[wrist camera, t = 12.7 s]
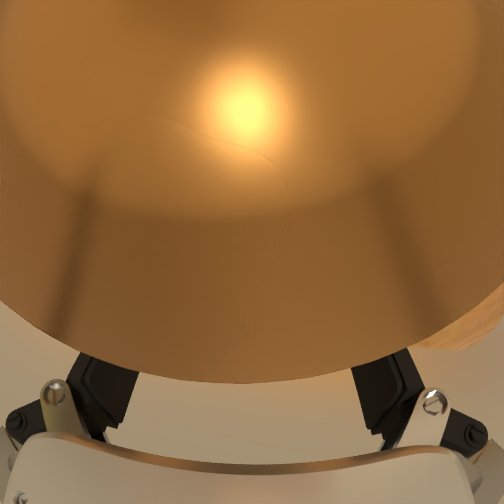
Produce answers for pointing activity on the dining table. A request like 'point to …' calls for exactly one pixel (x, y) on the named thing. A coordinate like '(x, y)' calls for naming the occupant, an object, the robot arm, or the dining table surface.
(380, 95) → the handle
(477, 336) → the dining table surface
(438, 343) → the dining table surface
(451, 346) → the dining table surface
